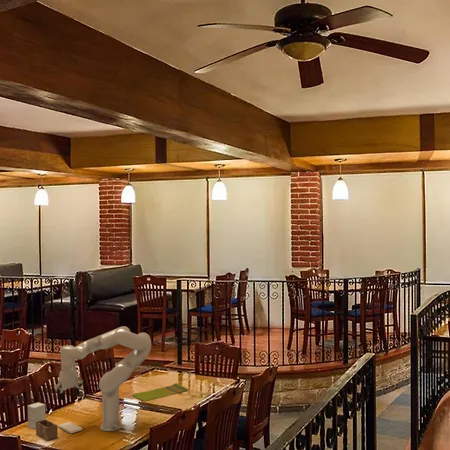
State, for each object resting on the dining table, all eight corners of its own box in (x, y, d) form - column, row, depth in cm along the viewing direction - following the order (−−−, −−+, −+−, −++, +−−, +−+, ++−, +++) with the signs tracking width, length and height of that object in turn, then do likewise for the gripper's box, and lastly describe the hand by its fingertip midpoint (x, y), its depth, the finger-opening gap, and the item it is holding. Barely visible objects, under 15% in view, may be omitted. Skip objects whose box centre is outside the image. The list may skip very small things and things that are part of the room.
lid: (82, 431, 316) (82, 427, 316) (70, 434, 312) (70, 431, 312) (69, 425, 327) (69, 421, 327) (58, 428, 323) (58, 424, 323)
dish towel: (188, 391, 389) (188, 386, 389) (143, 402, 367) (143, 397, 367) (176, 387, 401) (176, 382, 401) (132, 397, 379) (132, 393, 379)
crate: (57, 438, 306) (57, 425, 307) (47, 441, 302) (46, 428, 302) (46, 431, 317) (46, 419, 317) (36, 434, 313) (35, 422, 313)
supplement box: (39, 423, 331) (38, 402, 331) (46, 426, 327) (45, 404, 327) (27, 427, 326) (27, 405, 326) (34, 429, 321) (34, 407, 321)
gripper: (78, 363, 328) (80, 393, 328) (50, 369, 317) (52, 400, 317) (85, 365, 323) (86, 395, 323) (57, 371, 311) (58, 402, 311)
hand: (69, 397), depth 320 cm, fingers open, 9 cm apart
